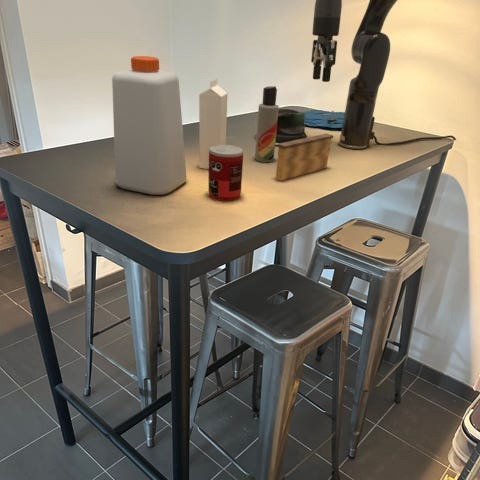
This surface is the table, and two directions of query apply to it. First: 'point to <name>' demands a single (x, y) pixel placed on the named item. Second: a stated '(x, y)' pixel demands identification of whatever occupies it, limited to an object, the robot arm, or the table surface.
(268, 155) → the lotion bottle
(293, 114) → the chocolate cake
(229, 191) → the canned food
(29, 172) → the table surface
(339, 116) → the decorative plate
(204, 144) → the milk
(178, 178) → the plastic bottle
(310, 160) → the wall panel
